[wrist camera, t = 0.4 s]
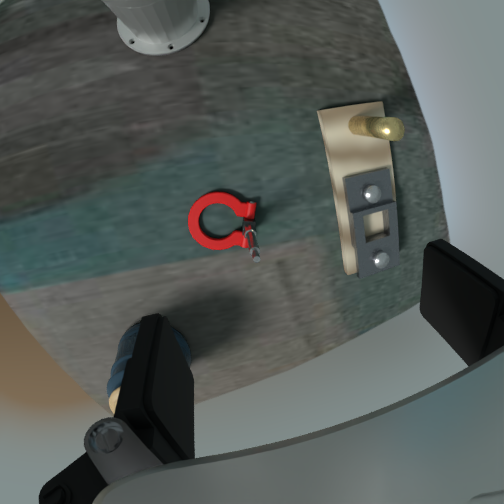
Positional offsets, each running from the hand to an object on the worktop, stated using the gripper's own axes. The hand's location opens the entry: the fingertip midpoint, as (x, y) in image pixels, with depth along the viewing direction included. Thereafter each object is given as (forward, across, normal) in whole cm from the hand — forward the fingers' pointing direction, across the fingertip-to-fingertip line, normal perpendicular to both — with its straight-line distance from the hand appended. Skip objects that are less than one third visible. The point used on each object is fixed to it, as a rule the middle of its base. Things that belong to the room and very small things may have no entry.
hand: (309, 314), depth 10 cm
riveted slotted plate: (+33, -19, +12) cm, 40 cm away
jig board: (+35, -19, +7) cm, 40 cm away
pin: (+33, -18, -3) cm, 38 cm away
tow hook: (+35, +3, +7) cm, 36 cm away
